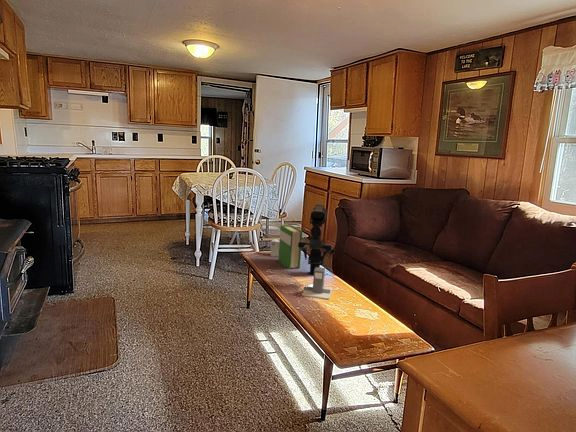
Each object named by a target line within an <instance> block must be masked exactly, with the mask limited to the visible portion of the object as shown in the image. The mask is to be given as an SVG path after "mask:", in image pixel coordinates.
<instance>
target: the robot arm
mask: <svg viewBox="0 0 576 432" xmlns="http://www.w3.org/2000/svg"><path fill="white" fill-rule="evenodd" d="M326 219H327V208H325V205H324V204H315V207H313V209H312V211H311V212H310V219H309V224H310V225H311V228H310V231H309V232H310V238H309V239H310V240H309V242H307V240H306V241H305V240H302V241H300V242H299V243H298V247H300V249H301V251H302V252H303V255H304V259H305V261H306V260H308V261H307V264H308V265H310V268H309V272H307V274H308V275H312V276H314V270H315V268H316V267H319V268H321V266H323V265H324V261H325V260H324V259H325V257H326V255H327V254H328V253H329V252H332V251H333V246H334V245H333V244H332V243H325V244H323V240H322V233H323V226H324V225H325V224H326ZM308 247H309V249H310V251H309V254H308V252H307V251H308ZM321 249H324V250H323V252H322V250H321ZM307 257H308V258H307Z"/></svg>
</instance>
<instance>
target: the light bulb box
mask: <svg viewBox="0 0 576 432" xmlns="http://www.w3.org/2000/svg"><path fill="white" fill-rule="evenodd" d="M279 244H280V239H277V238H273V239H272V240H271V242H270V257H278V258H279Z"/></svg>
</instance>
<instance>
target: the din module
mask: <svg viewBox="0 0 576 432" xmlns="http://www.w3.org/2000/svg"><path fill="white" fill-rule="evenodd" d="M325 273H326V268H325V267H320V268H319V267H316V268H315V270H314V275H313V279H312V285H313V292H314V293H321V294H322V290H323V289H324V285H325V275H326V274H325Z"/></svg>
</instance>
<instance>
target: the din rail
mask: <svg viewBox="0 0 576 432" xmlns="http://www.w3.org/2000/svg"><path fill="white" fill-rule="evenodd" d="M305 288H306V290H309V291H313V287H307V286H306V287H305ZM322 292H324V293H330V292H331V290H328V289H323V290H322Z"/></svg>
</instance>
